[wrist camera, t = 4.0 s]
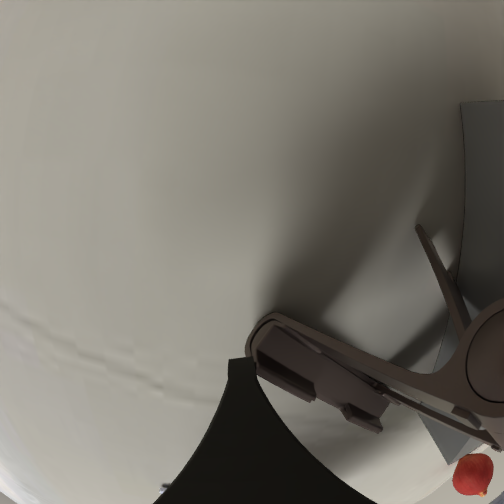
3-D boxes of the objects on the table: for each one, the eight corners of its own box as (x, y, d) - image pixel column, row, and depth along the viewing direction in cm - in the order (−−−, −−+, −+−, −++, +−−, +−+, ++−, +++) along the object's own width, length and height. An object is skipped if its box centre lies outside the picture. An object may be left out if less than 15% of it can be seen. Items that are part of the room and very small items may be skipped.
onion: (484, 440, 21) (508, 477, 13) (454, 466, 22) (474, 503, 15) (471, 442, 20) (497, 484, 12) (437, 470, 21) (458, 513, 14)
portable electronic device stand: (239, 332, 11) (257, 557, 3) (386, 179, 9) (610, 265, 1) (362, 406, 13) (416, 530, 5) (467, 305, 12) (567, 400, 4)
